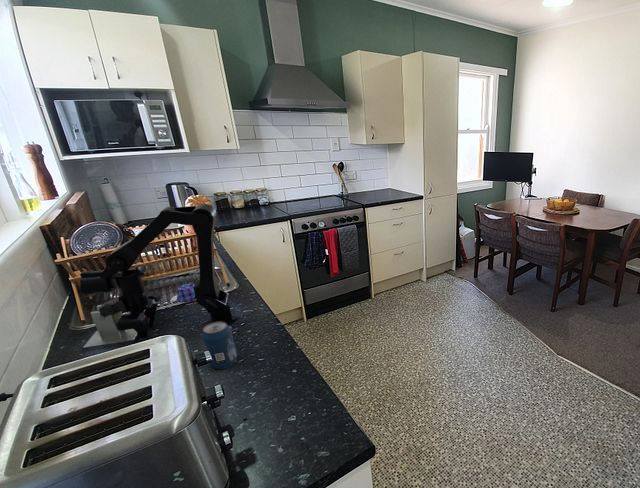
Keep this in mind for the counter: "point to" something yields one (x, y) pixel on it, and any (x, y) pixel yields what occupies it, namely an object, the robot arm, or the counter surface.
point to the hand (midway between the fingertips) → (147, 332)
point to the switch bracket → (108, 331)
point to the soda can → (219, 344)
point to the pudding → (185, 293)
